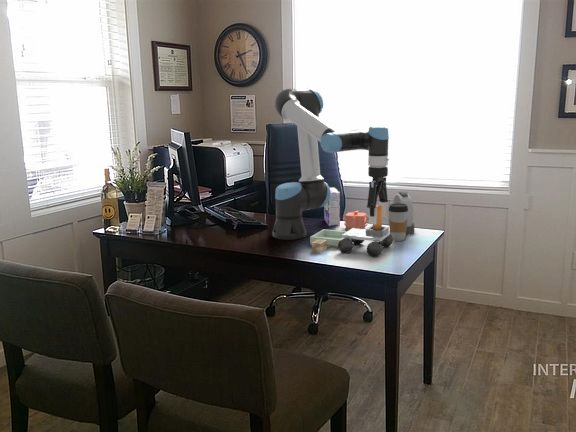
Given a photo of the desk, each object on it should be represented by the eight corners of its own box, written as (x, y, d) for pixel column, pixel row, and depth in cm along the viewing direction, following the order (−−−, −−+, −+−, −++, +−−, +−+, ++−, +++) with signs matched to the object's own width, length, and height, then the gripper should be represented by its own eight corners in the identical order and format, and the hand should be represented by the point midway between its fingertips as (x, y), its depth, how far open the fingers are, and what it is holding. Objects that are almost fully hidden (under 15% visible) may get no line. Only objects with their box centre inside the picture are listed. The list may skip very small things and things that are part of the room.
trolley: (338, 252, 219) (337, 230, 217) (352, 242, 233) (352, 222, 231) (380, 257, 211) (381, 235, 209) (393, 247, 225) (393, 225, 223)
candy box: (323, 219, 275) (323, 187, 272) (335, 219, 276) (335, 187, 272) (328, 226, 262) (327, 192, 258) (340, 225, 262) (340, 192, 259)
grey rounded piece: (418, 235, 243) (419, 194, 238) (395, 236, 242) (396, 195, 238) (408, 226, 258) (409, 188, 254) (386, 227, 258) (387, 189, 254)
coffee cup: (407, 241, 232) (408, 207, 229) (387, 241, 234) (388, 206, 231) (407, 236, 240) (408, 203, 237) (388, 236, 242) (388, 203, 239)
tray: (310, 244, 231) (310, 236, 230) (323, 236, 243) (323, 229, 243) (341, 248, 225) (341, 240, 224) (353, 240, 237) (353, 232, 236)
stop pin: (371, 233, 220) (371, 206, 217) (374, 231, 223) (374, 205, 220) (380, 234, 218) (380, 207, 216) (382, 232, 221) (383, 205, 219)
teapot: (340, 232, 250) (340, 214, 249) (345, 224, 265) (345, 207, 263) (366, 233, 248) (366, 215, 246) (370, 225, 262) (370, 208, 260)
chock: (311, 252, 221) (311, 242, 220) (318, 248, 226) (318, 239, 226) (321, 253, 219) (320, 243, 219) (327, 249, 225) (326, 240, 224)
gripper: (377, 170, 203) (377, 228, 208) (396, 162, 223) (395, 215, 228) (358, 169, 206) (358, 226, 211) (378, 162, 226) (377, 214, 231)
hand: (377, 220), depth 219 cm, fingers open, 11 cm apart
